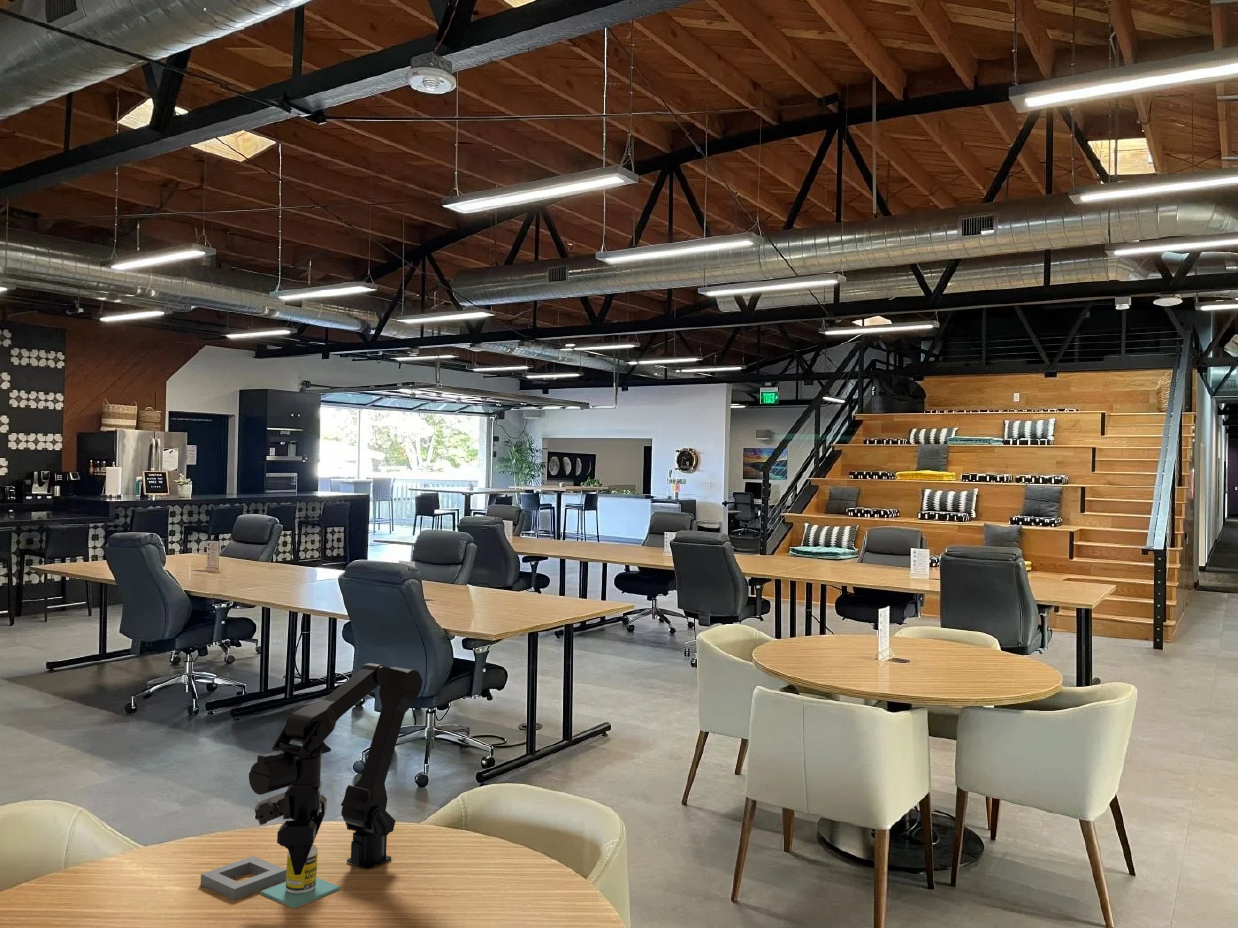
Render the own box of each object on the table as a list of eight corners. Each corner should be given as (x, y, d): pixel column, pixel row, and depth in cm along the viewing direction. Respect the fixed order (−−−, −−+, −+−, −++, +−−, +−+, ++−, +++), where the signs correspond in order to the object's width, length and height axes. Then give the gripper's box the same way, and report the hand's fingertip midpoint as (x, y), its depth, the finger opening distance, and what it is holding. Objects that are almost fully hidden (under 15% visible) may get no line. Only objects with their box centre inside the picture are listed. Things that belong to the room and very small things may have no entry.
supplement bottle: (306, 896, 164) (308, 842, 165) (279, 892, 165) (281, 839, 166) (321, 884, 170) (323, 831, 170) (296, 880, 171) (298, 829, 171)
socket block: (252, 865, 179) (253, 855, 179) (286, 879, 172) (286, 869, 172) (200, 884, 169) (200, 873, 170) (234, 900, 163) (234, 888, 163)
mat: (306, 875, 174) (306, 873, 174) (339, 889, 169) (339, 886, 169) (261, 893, 166) (261, 890, 166) (294, 908, 160) (294, 905, 160)
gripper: (269, 767, 176) (266, 847, 175) (248, 798, 158) (245, 888, 157) (328, 765, 178) (325, 844, 177) (314, 795, 160) (311, 884, 159)
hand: (301, 864), depth 168 cm, fingers open, 9 cm apart
